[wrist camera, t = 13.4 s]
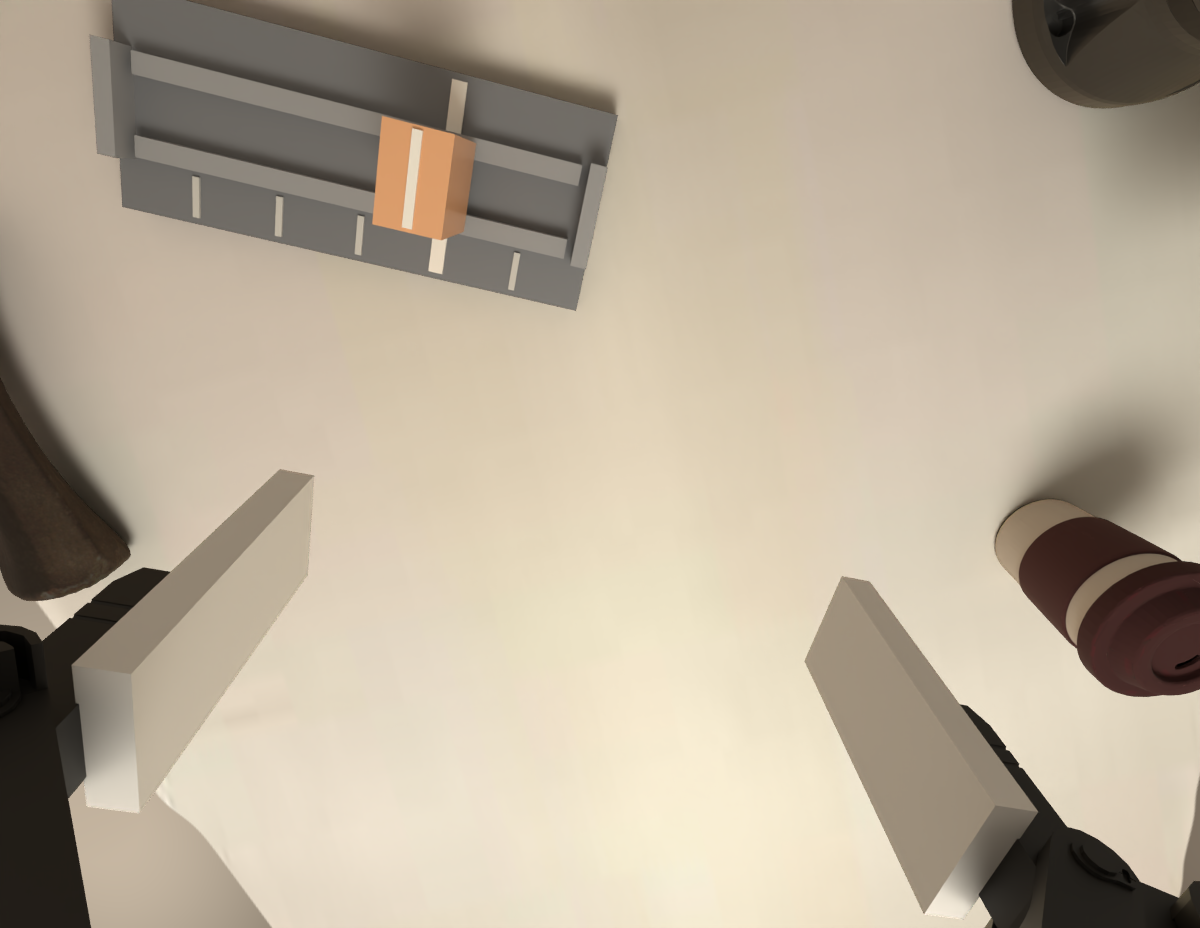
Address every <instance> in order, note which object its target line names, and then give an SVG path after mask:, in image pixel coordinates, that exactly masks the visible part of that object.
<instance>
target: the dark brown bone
mask: <svg viewBox="0 0 1200 928" xmlns="http://www.w3.org/2000/svg"><path fill="white" fill-rule="evenodd" d="M130 555H131V554H130V550H129V548H128V546H127V544H126V543H125V542H124V541H123V540H122V539H121V538H120V537H119V536H118V535H117V534H116V533H115V532H114V531H113V530H112V529H111V528H110V527H109V526H108V525H107V524H106V523H105V522H104V521H103V520H102V519H101V518H100V517H99V516H98V515H97V514H96V513H95V512H94V511H93V510H92V509H91V508H90V507H89V506H88V505H86V503H85V502H84V501H83V500H82V499H81V498H80V497H79V496H78V495H77V494H76V493H75V492H74V490H73V489H72V488H71V487H70V486H69V485H68V483H67V482H66V481H65V480H64V479H63V478H62V476H61V475H60V474H59V473H58V471H57V470H56V469H55V467H54V466H53V465H52V464H51V462H50V461H49V460H48V458H47V457H46V456H45V454H44V453H43V451H42V450H41V449H40V447H39V445H38V444H37V442H36V441H35V439H34V438H33V436H32V435H31V433H30V432H29V430H28V428H27V427H26V425H25V424H24V422H23V420H22V419H21V417H20V415H19V413H18V411H17V410H16V408H15V406H14V404H13V403H12V401H11V399H10V397H9V395H8V393H7V391H6V388H5V386H4V385H3V382H2V380H1V378H0V570H1V573H2V576H3V579H4V581H5V583H6V585H7V587H8V589H9V591H10V592H11V593H12V594H14V595H15V596H17V597H19V598H21V599H23V600H26V601H42V600H49V599H54V598H60V597H64V596H66V595H69V594H72V593H76V592H78V591H80V590H82V589H84V588H88V587H91V586H92V585H94V584H96V583H97V582H99V581H100V580H102V579H104V578H106V577H107V576H108V575H109V574H110V573H112V572H113V571H115V570H116V569H117V568H118V567H120V566H121V565H122V564H123V563H124V562H125V561H126V560H127V559H128V558H129V557H130Z"/></svg>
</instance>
